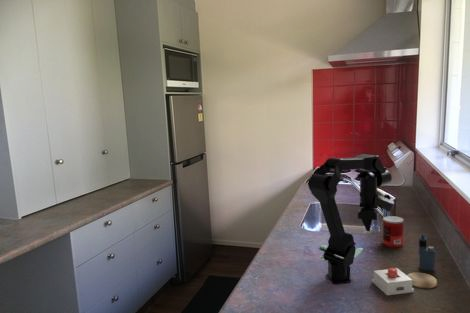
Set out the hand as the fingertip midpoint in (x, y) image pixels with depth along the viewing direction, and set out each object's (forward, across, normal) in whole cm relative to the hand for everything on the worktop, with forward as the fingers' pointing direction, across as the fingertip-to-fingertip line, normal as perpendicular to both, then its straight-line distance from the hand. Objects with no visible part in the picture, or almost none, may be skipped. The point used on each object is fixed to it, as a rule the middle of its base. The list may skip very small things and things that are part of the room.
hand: (368, 230), depth 135 cm
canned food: (+13, +22, -9) cm, 28 cm away
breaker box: (+13, -15, -8) cm, 21 cm away
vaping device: (+13, +2, -20) cm, 24 cm away
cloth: (+14, +10, +11) cm, 20 cm away
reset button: (+12, -15, -8) cm, 21 cm away
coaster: (+13, -9, -17) cm, 23 cm away
